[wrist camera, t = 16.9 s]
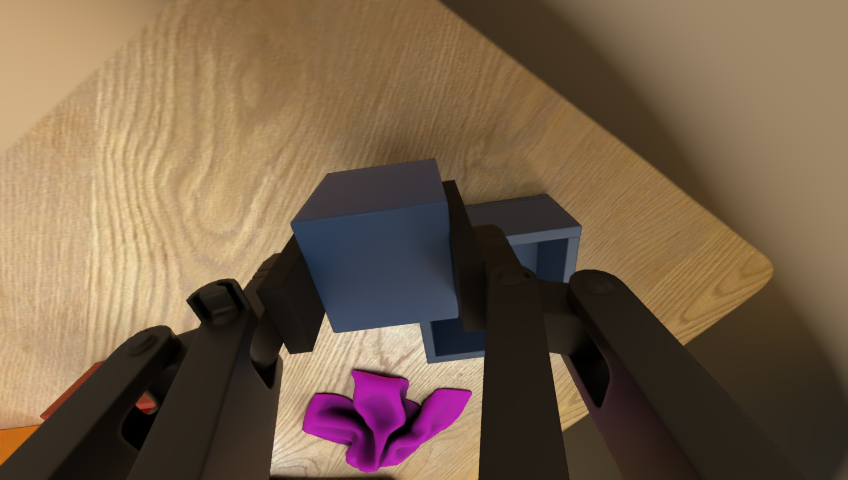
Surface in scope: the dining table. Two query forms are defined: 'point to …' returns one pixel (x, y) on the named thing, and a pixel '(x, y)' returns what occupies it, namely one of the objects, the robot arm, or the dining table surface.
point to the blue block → (380, 246)
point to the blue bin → (534, 247)
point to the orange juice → (13, 440)
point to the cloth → (381, 419)
